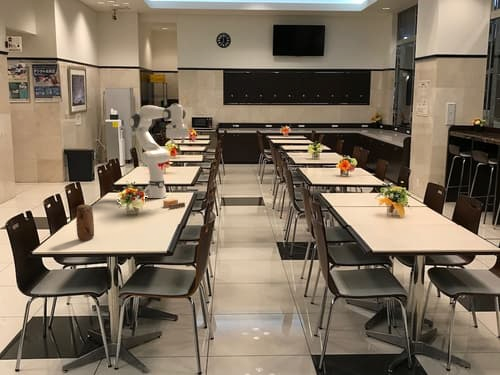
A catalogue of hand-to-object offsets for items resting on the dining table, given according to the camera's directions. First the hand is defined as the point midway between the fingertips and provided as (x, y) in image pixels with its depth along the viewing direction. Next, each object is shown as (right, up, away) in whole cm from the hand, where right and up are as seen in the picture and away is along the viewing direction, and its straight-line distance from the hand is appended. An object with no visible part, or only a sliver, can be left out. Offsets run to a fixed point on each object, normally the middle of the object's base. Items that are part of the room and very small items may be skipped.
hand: (177, 143), depth 396 cm
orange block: (-5, -48, -5) cm, 48 cm away
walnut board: (+1, -49, -10) cm, 50 cm away
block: (-41, -64, -94) cm, 120 cm away
